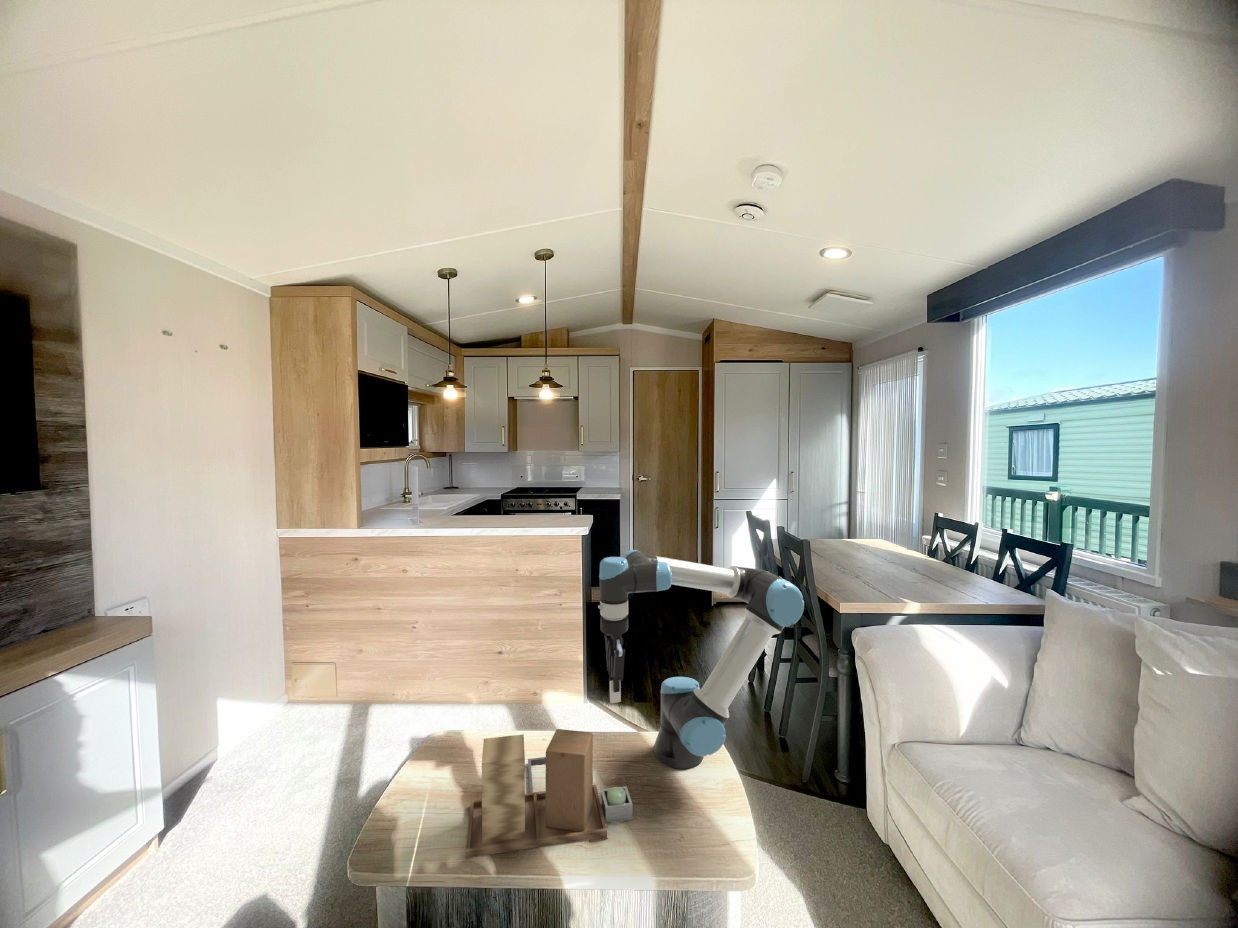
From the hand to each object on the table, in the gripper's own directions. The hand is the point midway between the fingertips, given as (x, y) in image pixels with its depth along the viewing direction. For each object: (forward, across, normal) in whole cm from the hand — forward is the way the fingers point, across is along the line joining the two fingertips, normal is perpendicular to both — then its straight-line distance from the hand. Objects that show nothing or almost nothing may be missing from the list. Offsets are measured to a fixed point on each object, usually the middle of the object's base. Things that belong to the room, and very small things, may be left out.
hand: (615, 700), depth 141 cm
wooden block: (+26, +6, -14) cm, 30 cm away
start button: (+25, +6, -2) cm, 26 cm away
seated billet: (+25, +4, -30) cm, 40 cm away
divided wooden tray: (+26, +5, -22) cm, 35 cm away
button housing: (+26, +6, -2) cm, 27 cm away
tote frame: (+26, -11, -15) cm, 32 cm away
